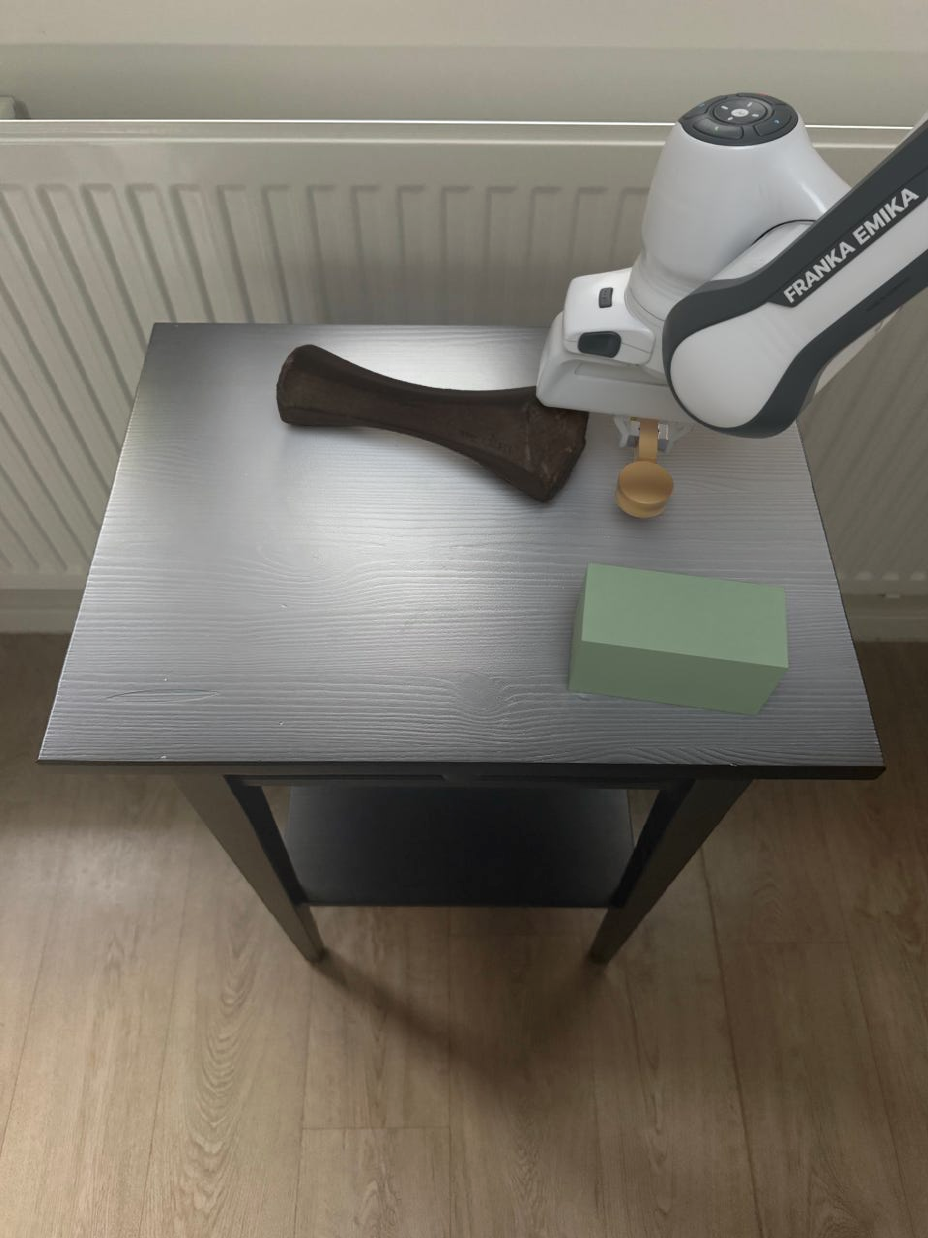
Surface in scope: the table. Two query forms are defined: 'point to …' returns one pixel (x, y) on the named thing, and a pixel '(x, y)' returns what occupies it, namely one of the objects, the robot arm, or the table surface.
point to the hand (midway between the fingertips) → (644, 444)
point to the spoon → (644, 477)
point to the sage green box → (678, 639)
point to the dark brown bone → (439, 417)
